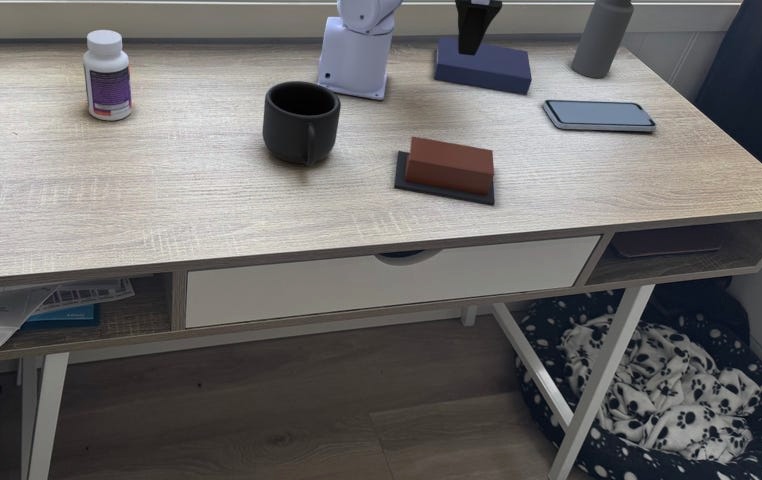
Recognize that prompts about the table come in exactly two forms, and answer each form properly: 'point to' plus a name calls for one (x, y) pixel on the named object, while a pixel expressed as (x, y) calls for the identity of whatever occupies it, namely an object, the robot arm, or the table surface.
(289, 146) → the mug
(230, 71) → the table surface
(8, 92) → the table surface
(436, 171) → the block
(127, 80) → the pill bottle
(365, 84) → the robot arm
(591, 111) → the smartphone
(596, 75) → the bottle
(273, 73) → the table surface
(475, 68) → the hardcover book
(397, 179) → the rubber mat
